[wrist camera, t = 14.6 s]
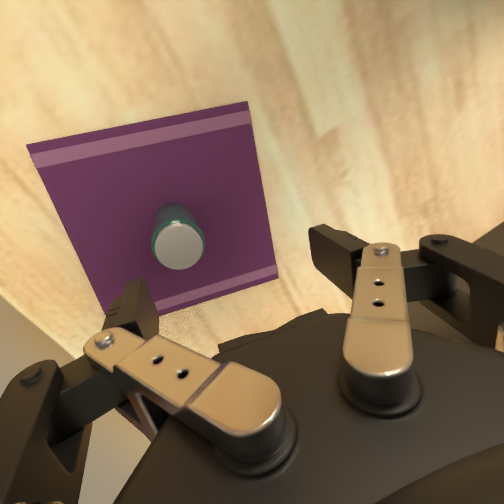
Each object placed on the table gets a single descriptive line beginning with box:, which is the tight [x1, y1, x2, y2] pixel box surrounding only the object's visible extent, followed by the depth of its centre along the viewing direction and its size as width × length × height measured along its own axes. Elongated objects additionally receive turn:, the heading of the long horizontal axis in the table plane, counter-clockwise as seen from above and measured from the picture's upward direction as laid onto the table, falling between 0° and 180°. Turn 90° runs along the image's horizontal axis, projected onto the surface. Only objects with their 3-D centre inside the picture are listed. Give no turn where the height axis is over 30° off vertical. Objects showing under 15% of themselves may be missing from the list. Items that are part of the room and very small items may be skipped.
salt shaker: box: [151, 202, 205, 270], centre depth 28 cm, size 4×4×8 cm
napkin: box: [26, 101, 279, 316], centre depth 32 cm, size 20×20×1 cm
